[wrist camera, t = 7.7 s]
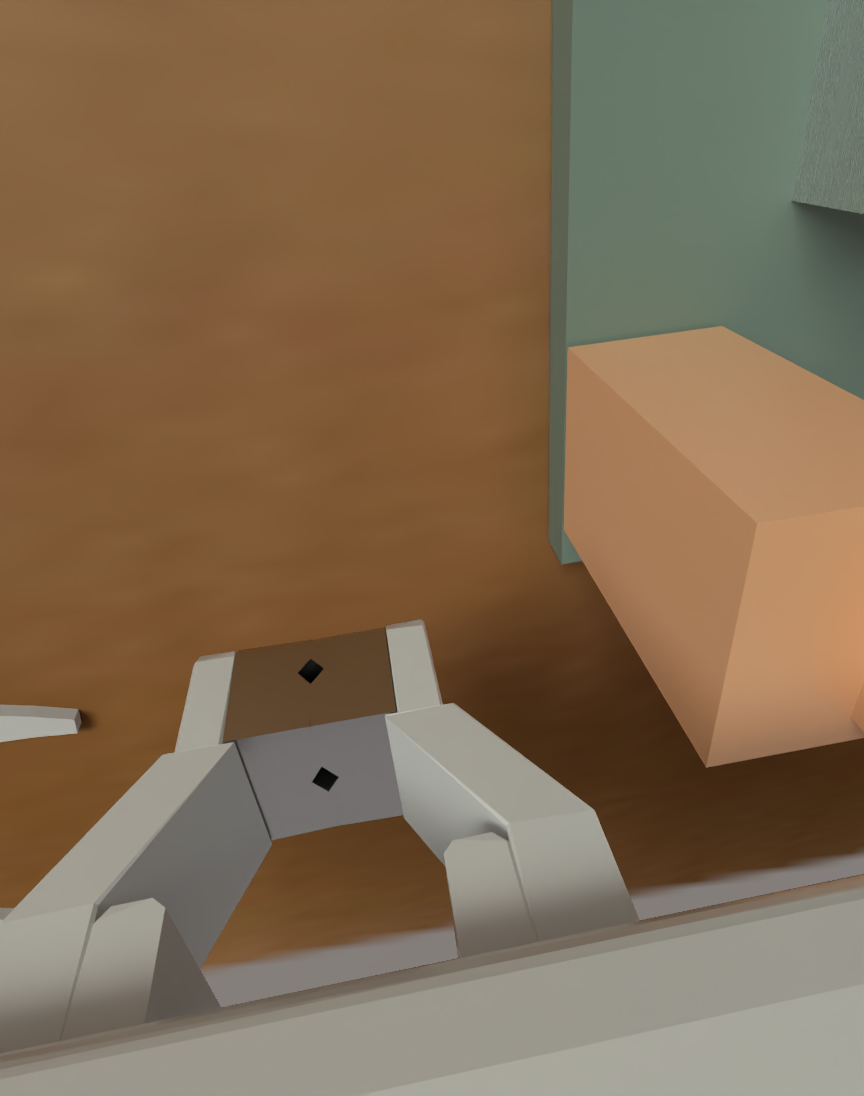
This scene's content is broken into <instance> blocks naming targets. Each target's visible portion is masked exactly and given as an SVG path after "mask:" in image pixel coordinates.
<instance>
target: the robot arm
mask: <svg viewBox="0 0 864 1096" xmlns="http://www.w3.org/2000/svg"><path fill="white" fill-rule="evenodd" d="M386 633H387V635H386ZM387 640H388V641H387ZM388 646H389V647H388ZM401 815H404V819H405V820H406V821H407V822H408V823H409V825H410V826H411V827H412V828H413V829H414V830H415V832H416V833H417V834H418V835H419V836H420V837H421V839H422V840H423V841H424V842H425V843H426V845H427V846H428V847H429V848H430V849H431V850H432V852H433V853H434V854H435V855H436V856H437V857H438V859H439V860H440V861H441V862H442V863H443V865H444V866H445V867H446V874H447V881H448V888H449V895H450V903H451V910H452V917H453V924H454V932H455V938H456V946H457V953H458V958H457V959H452V960H447V961H443V962H438V963H434V964H428V965H423V966H419V967H414V968H410V969H404V970H399V971H394V972H390V973H385V974H380V975H375V976H370V977H366V978H361V979H356V980H351V981H346V982H342V983H337V984H332V985H327V986H322V987H318V988H313V989H308V990H303V991H299V992H294V993H289V994H284V995H279V996H274V997H269V998H265V999H260V1000H255V1001H250V1002H245V1003H241V1004H236V1005H231V1006H227V1007H221V1006H220V1004H219V1002H218V1001H217V999H216V997H215V995H214V994H213V992H212V990H211V988H210V986H209V985H208V983H207V981H206V979H205V977H204V976H203V974H202V972H201V970H200V968H201V966H202V965H203V963H204V961H205V959H206V958H207V956H208V954H209V952H210V951H211V949H212V947H213V946H214V944H215V942H216V940H217V939H218V937H219V935H220V933H221V932H222V930H223V928H224V927H225V925H226V923H227V921H228V920H229V918H230V916H231V914H232V913H233V911H234V909H235V908H236V906H237V904H238V902H239V901H240V899H241V897H242V896H243V894H244V892H245V890H246V889H247V887H248V885H249V883H250V882H251V880H252V878H253V877H254V875H255V873H256V871H257V870H258V868H259V866H260V864H261V863H262V861H263V859H264V858H265V856H266V854H267V852H268V851H269V849H270V847H271V845H272V843H271V840H275V839H279V838H284V837H289V836H293V835H298V834H302V833H307V832H311V831H316V830H321V829H325V828H330V827H334V826H340V825H346V824H352V823H358V822H364V821H370V820H376V819H383V818H389V817H395V816H401ZM0 1096H864V874H862V875H857V876H852V877H847V878H842V879H838V880H833V881H828V882H823V883H818V884H813V885H808V886H804V887H799V888H794V889H789V890H785V891H780V892H775V893H770V894H765V895H760V896H756V897H751V898H746V899H741V900H736V901H731V902H727V903H722V904H717V905H712V906H707V907H703V908H698V909H693V910H688V911H683V912H678V913H674V914H669V915H664V916H659V917H654V918H649V919H645V920H639V918H638V915H637V913H636V910H635V908H634V905H633V903H632V901H631V898H630V896H629V893H628V891H627V888H626V886H625V883H624V881H623V879H622V876H621V874H620V871H619V869H618V866H617V864H616V862H615V859H614V857H613V854H612V852H611V849H610V847H609V844H608V842H607V840H606V837H605V835H604V832H603V830H602V827H601V825H600V822H599V820H598V818H597V815H596V813H595V810H594V809H592V808H591V807H590V806H589V805H587V804H586V803H585V802H583V801H582V800H581V799H579V798H578V797H577V796H575V795H574V794H573V793H571V792H570V791H569V790H568V789H566V788H565V787H564V786H562V785H561V784H560V783H558V782H557V781H556V780H554V779H553V778H552V777H551V776H549V775H548V774H547V773H545V772H544V771H543V770H541V769H540V768H539V767H537V766H536V765H535V764H534V763H532V762H531V761H530V760H528V759H527V758H526V757H524V756H523V755H522V754H520V753H519V752H518V751H517V750H515V749H514V748H513V747H511V746H510V745H509V744H507V743H506V742H505V741H503V740H502V739H501V738H499V737H498V736H497V735H496V734H494V733H493V732H492V731H490V730H489V729H488V728H486V727H485V726H484V725H482V724H481V723H480V722H479V721H477V720H476V719H475V718H473V717H472V716H471V715H469V714H468V713H467V712H465V711H464V710H463V709H462V708H460V707H459V706H458V705H456V704H455V703H450V704H444V705H443V703H442V699H441V694H440V690H439V685H438V681H437V676H436V672H435V668H434V663H433V659H432V654H431V650H430V645H429V641H428V636H427V632H426V627H425V623H424V622H423V621H422V620H421V619H419V620H414V621H409V622H404V623H399V624H393V625H388V626H386V630H385V627H383V628H377V629H372V630H366V631H360V632H354V633H349V634H343V635H337V636H331V637H326V638H320V639H314V640H313V639H312V640H305V641H299V642H292V643H285V644H278V645H271V646H264V647H258V648H251V649H244V650H239V651H238V652H236V651H233V652H227V653H220V654H214V655H207V656H201V657H199V659H198V660H197V661H196V663H195V664H194V667H193V672H192V676H191V681H190V685H189V689H188V694H187V698H186V703H185V707H184V712H183V716H182V721H181V725H180V730H179V734H178V739H177V743H176V748H175V752H174V753H169V754H164V755H162V756H161V757H160V758H159V759H158V760H157V761H156V762H155V763H154V764H153V765H152V766H151V767H150V768H149V769H148V770H147V771H146V772H145V773H144V774H143V776H142V777H141V778H140V779H139V780H138V781H137V782H136V783H135V784H134V785H133V786H132V787H131V788H130V789H129V790H128V791H127V792H126V793H125V794H124V795H123V796H122V797H121V798H120V799H119V800H118V801H117V803H116V804H115V805H114V806H113V807H112V808H111V809H110V810H109V811H108V812H107V813H106V814H105V815H104V816H103V817H102V818H101V819H100V820H99V821H98V822H97V823H96V824H95V825H94V826H93V827H92V828H91V829H90V831H89V832H88V833H87V834H86V835H85V836H84V837H83V838H82V839H81V840H80V841H79V842H78V843H77V844H76V845H75V846H74V847H73V848H72V849H71V850H70V851H69V852H68V853H67V854H66V855H65V856H64V858H63V859H62V860H61V861H60V862H59V863H58V864H57V865H56V866H55V867H54V868H53V869H52V870H51V871H50V872H49V873H48V874H47V875H46V876H45V877H44V878H43V879H42V880H41V881H40V882H39V883H38V885H37V886H36V887H35V888H34V889H33V890H32V891H31V892H30V893H29V894H28V895H27V896H26V897H25V898H24V899H23V900H22V901H21V902H20V903H19V904H18V905H17V906H16V907H15V908H14V909H13V910H12V912H11V913H10V914H9V915H8V916H7V917H6V918H5V919H4V920H3V921H2V922H1V923H0Z"/></svg>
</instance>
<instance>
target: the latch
mask: <svg viewBox="0 0 864 1096" xmlns="http://www.w3.org/2000/svg"><path fill="white" fill-rule="evenodd" d="M564 531H565V533H566V534H567V536H568V538H569V539H570V541H571V543H572V544H573V546H574V548H575V549H576V551H577V553H578V554H579V556H580V558H581V559H582V561H583V563H584V564H585V566H586V568H587V569H588V571H589V573H590V575H591V576H592V578H593V580H594V581H595V583H596V585H597V586H598V588H599V590H600V591H601V593H602V595H603V596H604V598H605V600H606V601H607V603H608V605H609V606H610V608H611V610H612V611H613V613H614V615H615V616H616V618H617V620H618V621H619V623H620V625H621V626H622V628H623V630H624V631H625V633H626V635H627V636H628V638H629V640H630V641H631V643H632V645H633V646H634V648H635V650H636V651H637V653H638V655H639V656H640V658H641V660H642V661H643V663H644V665H645V666H646V668H647V670H648V671H649V673H650V675H651V676H652V678H653V680H654V681H655V683H656V685H657V686H658V688H659V690H660V691H661V693H662V695H663V696H664V698H665V700H666V701H667V703H668V705H669V706H670V708H671V710H672V711H673V713H674V715H675V716H676V718H677V720H678V721H679V723H680V725H681V726H682V728H683V730H684V731H685V733H686V735H687V736H688V738H689V740H690V741H691V743H692V745H693V746H694V748H695V750H696V751H697V753H698V755H699V756H700V758H701V760H702V761H703V763H704V765H705V766H706V768H707V767H712V766H717V765H723V764H728V763H733V762H739V761H744V760H749V759H754V758H760V757H765V756H770V755H776V754H781V753H786V752H792V751H797V750H802V749H808V748H813V747H818V746H823V745H829V744H834V743H839V742H845V741H850V740H855V739H861V738H864V400H862V399H861V398H859V397H857V396H855V395H853V394H851V393H849V392H847V391H845V390H843V389H842V388H840V387H838V386H836V385H834V384H832V383H830V382H828V381H826V380H824V379H822V378H821V377H819V376H817V375H815V374H813V373H811V372H809V371H807V370H805V369H803V368H802V367H800V366H798V365H796V364H794V363H792V362H790V361H788V360H786V359H784V358H782V357H781V356H779V355H777V354H775V353H773V352H771V351H769V350H767V349H765V348H763V347H762V346H760V345H758V344H756V343H754V342H752V341H750V340H748V339H746V338H744V337H742V336H741V335H739V334H737V333H735V332H733V331H731V330H729V329H727V328H725V327H723V326H718V327H711V328H704V329H696V330H689V331H682V332H675V333H667V334H660V335H653V336H646V337H639V338H631V339H624V340H617V341H610V342H603V343H595V344H588V345H581V346H574V347H568V351H567V397H566V443H565V490H564Z"/></svg>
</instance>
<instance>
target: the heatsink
mask: <svg viewBox="0 0 864 1096" xmlns="http://www.w3.org/2000/svg"><path fill="white" fill-rule="evenodd" d="M791 201H796V202H801V203H807V204H812V205H817V206H823V207H828V208H833V209H839V210H844V211H849V212H855V213H860V214H863V213H864V0H828V5H827V10H826V15H825V21H824V26H823V32H822V37H821V42H820V48H819V53H818V59H817V64H816V69H815V75H814V80H813V86H812V91H811V97H810V102H809V107H808V113H807V118H806V124H805V129H804V134H803V140H802V145H801V151H800V156H799V162H798V167H797V172H796V178H795V183H794V189H793V194H792V199H791Z"/></svg>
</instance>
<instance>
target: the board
mask: <svg viewBox="0 0 864 1096" xmlns="http://www.w3.org/2000/svg"><path fill="white" fill-rule="evenodd" d="M827 5H828V0H552V138H551V281H550V424H549V543H550V544H551V546H552V548H553V550H554V552H555V554H556V555H557V557H558V559H559V561H560V563H561V564H567V563H574V562H580V561H582V559H581V558H580V556H579V554H578V553H577V551H576V549H575V548H574V546H573V544H572V543H571V541H570V539H569V538H568V536H567V534H566V533H565V531H564V490H565V443H566V397H567V351H568V347H574V346H581V345H588V344H595V343H603V342H610V341H617V340H624V339H631V338H639V337H646V336H653V335H660V334H667V333H675V332H682V331H689V330H696V329H704V328H711V327H718V326H723V327H725V328H727V329H729V330H731V331H733V332H735V333H737V334H739V335H741V336H742V337H744V338H746V339H748V340H750V341H752V342H754V343H756V344H758V345H760V346H762V347H763V348H765V349H767V350H769V351H771V352H773V353H775V354H777V355H779V356H781V357H782V358H784V359H786V360H788V361H790V362H792V363H794V364H796V365H798V366H800V367H802V368H803V369H805V370H807V371H809V372H811V373H813V374H815V375H817V376H819V377H821V378H822V379H824V380H826V381H828V382H830V383H832V384H834V385H836V386H838V387H840V388H842V389H843V390H845V391H847V392H849V393H851V394H853V395H855V396H857V397H859V398H861V399H862V400H864V213H863V214H860V213H855V212H849V211H844V210H839V209H833V208H828V207H823V206H817V205H812V204H807V203H801V202H796V201H791V199H792V194H793V189H794V183H795V178H796V172H797V167H798V162H799V156H800V151H801V145H802V140H803V134H804V129H805V124H806V118H807V113H808V107H809V102H810V97H811V91H812V86H813V80H814V75H815V69H816V64H817V59H818V53H819V48H820V42H821V37H822V32H823V26H824V21H825V15H826V10H827Z"/></svg>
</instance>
